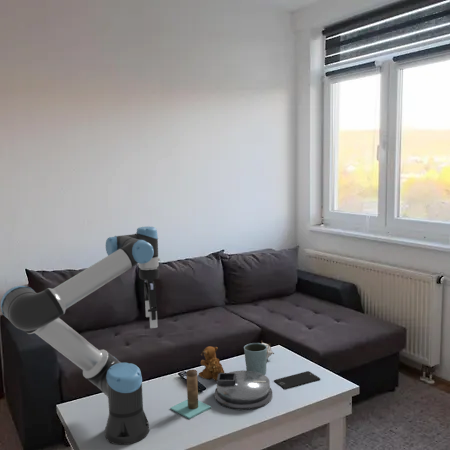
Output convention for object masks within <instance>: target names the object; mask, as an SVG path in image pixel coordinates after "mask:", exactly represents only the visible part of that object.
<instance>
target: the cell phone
mask: <svg viewBox="0 0 450 450" xmlns="http://www.w3.org/2000/svg"><path fill="white" fill-rule="evenodd" d="M273 381H274V383H275V384H276V385H278V386H280V387H281V388H282V389H284V390H289V389H292V388H297V387H300V386H304V385H307V384H310V383H314V382H318V381H321V378H320V377H319V376H317V375H316V374H314V373H312V372H311V371H310V370H308V371H307V370H306V371H303V372H298V373H296V374H292V375H289V376H284V377H279V378H277V379H274V380H273Z"/></svg>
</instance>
